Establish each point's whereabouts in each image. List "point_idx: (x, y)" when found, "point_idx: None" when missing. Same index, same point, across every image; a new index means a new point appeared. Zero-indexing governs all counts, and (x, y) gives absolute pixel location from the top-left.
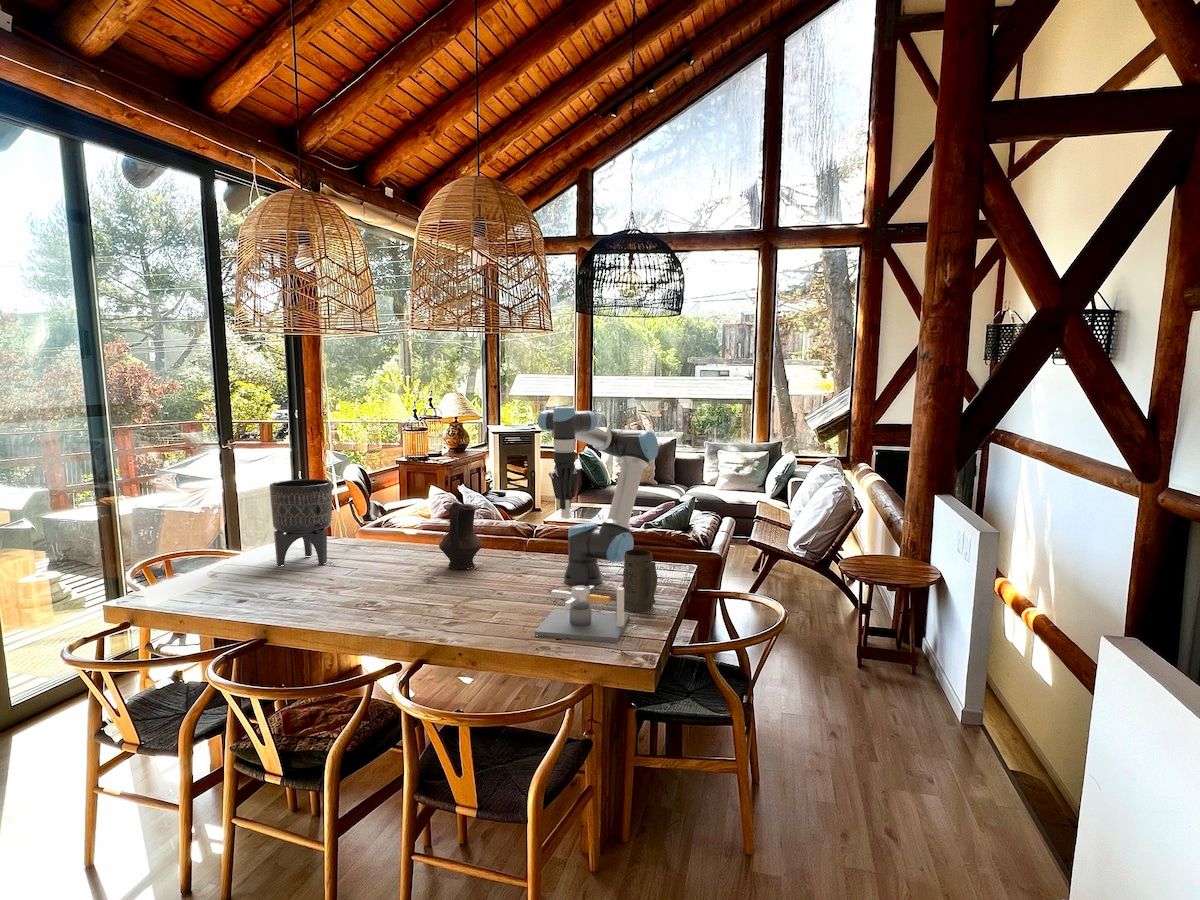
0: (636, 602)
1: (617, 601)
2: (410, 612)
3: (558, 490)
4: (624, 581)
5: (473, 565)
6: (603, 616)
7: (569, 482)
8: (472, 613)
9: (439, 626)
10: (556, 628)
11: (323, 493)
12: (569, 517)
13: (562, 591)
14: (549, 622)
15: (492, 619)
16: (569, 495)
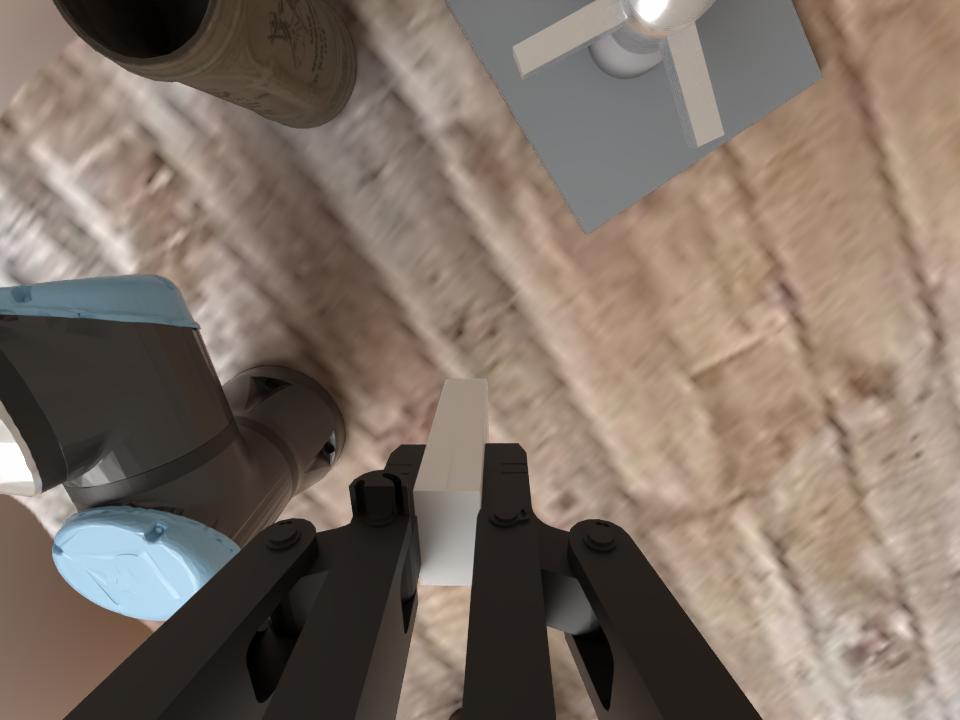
0: (324, 4)
1: None
2: (863, 536)
3: (721, 677)
4: (299, 74)
5: (461, 716)
6: (515, 17)
7: None
8: (760, 415)
9: (915, 388)
10: (746, 41)
11: None
12: (448, 382)
13: (694, 89)
14: None
15: (765, 328)
16: (392, 545)
